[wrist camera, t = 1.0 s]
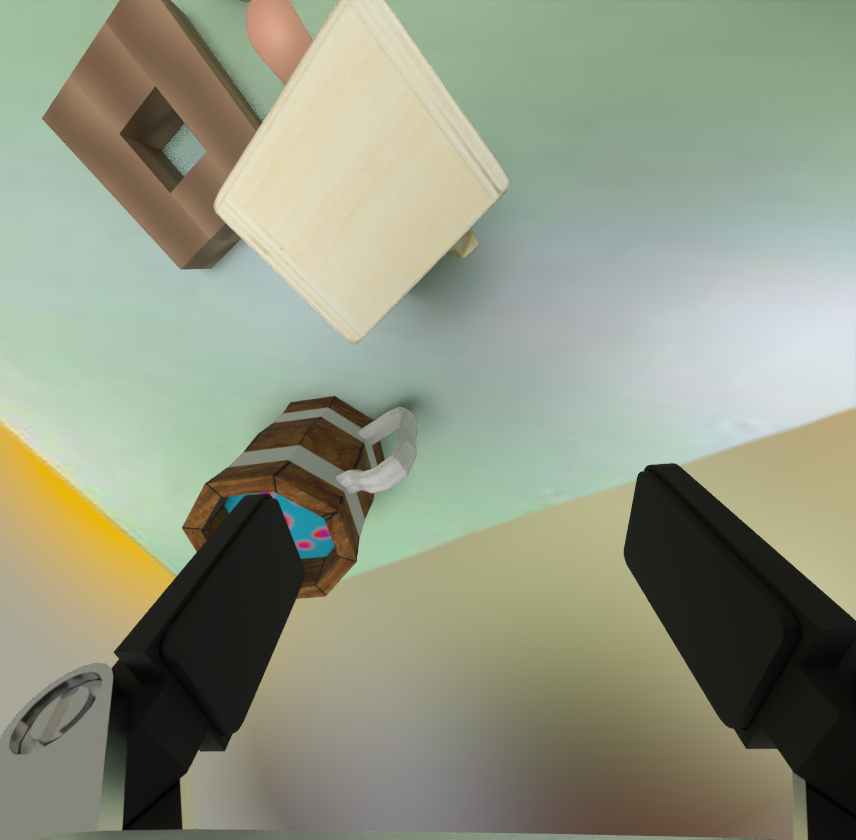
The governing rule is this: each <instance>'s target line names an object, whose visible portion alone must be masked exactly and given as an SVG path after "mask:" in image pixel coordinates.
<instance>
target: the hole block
mask: <svg viewBox="0 0 856 840" xmlns="http://www.w3.org/2000/svg"><path fill="white" fill-rule="evenodd" d="M42 119H43V120H44V121H45V122H46V123H47V125H48V126H49V127H50V128H51V129H52V130H53V131H54V132H55V133H56V134H57V135H58V136H59V138H60V139H61V140H62V141H63V142H64V143H65V144H66V145H67V146H68V147H69V148H70V150H71V151H72V152H73V153H74V154H75V155H76V156H77V157H78V158H79V159H80V160H81V161H82V163H83V164H84V165H85V166H86V167H87V168H88V169H89V170H90V171H91V172H92V173H93V175H94V176H95V177H96V178H97V179H98V180H99V181H100V182H101V183H102V184H103V185H104V186H105V188H106V189H107V190H108V191H109V192H110V193H111V194H112V195H113V196H114V197H115V198H116V200H117V201H118V202H119V203H120V204H121V205H122V206H123V207H124V208H125V209H126V210H127V211H128V213H129V214H130V215H131V216H132V217H133V218H134V219H135V220H136V221H137V222H138V223H139V225H140V226H141V227H142V228H143V229H144V230H145V231H146V232H147V233H148V234H149V235H150V236H151V238H152V239H153V240H154V241H155V242H156V243H157V244H158V245H159V246H160V247H161V248H162V250H163V251H164V252H165V253H166V254H167V255H168V256H169V257H170V258H171V259H172V260H173V261H174V263H175V264H176V265H177V266H178V267H179V268H180V269H208V268H212V267H213V266H214V265H215V264H216V263H217V262H218V261H219V260H220V259H221V258H222V257H223V256H224V255H225V254H226V253H227V252H228V251H229V250H230V249H231V248H232V247H233V246H234V245H235V244H236V243H237V242H238V241H239V240H240V239H241V237H240V236H239V235H238V234H236V233H235V232H234V231H233V230H232V229H231V228H230V227H229V226H228V225H227V224H226V223H225V222H224V221H223V219H222V218H221V217H220V216H219V215H218V214H217V213H216V212H215V210H214V202H215V199H216V197H217V195H218V193H219V190H220V189H221V187H222V185H223V184H224V182H225V181H226V179H227V177H228V176H229V174H230V173H231V171H232V170H233V168H234V166H235V165H236V163H237V162H238V160H239V159H240V157H241V155H242V154H243V152H244V151H245V149H246V147H247V146H248V144H249V143H250V141H251V140H252V138H253V136H254V135H255V133H256V132H257V130H258V128H259V127H260V125H261V124H262V122H261V121H260V119H259V118H258V116H257V115H256V114H255V112H254V111H253V109H252V108H251V107H250V105H249V104H248V102H247V101H246V100H245V98H244V97H243V95H242V94H241V93H240V91H239V90H238V88H237V87H236V85H235V84H234V83H233V81H232V80H231V78H230V77H229V76H228V74H227V73H226V71H225V70H224V69H223V67H222V66H221V64H220V63H219V62H218V60H217V59H216V57H215V56H214V55H213V53H212V52H211V50H210V49H209V48H208V46H207V45H206V43H205V42H204V41H203V39H202V38H201V36H200V35H199V34H198V32H197V31H196V29H195V28H194V27H193V25H192V24H191V22H190V21H189V20H188V18H187V17H186V15H185V14H184V13H183V12H182V11H181V10H180V9H179V8H178V7H177V6H176V5H175V4H174V3H173V2H172V1H171V0H120V1H119V2H118V4H117V5H116V7H115V8H114V10H113V11H112V13H111V15H110V16H109V18H108V19H107V21H106V22H105V24H104V25H103V27H102V28H101V30H100V31H99V33H98V34H97V36H96V37H95V39H94V40H93V42H92V43H91V45H90V46H89V48H88V49H87V51H86V52H85V54H84V55H83V57H82V58H81V60H80V61H79V63H78V65H77V66H76V68H75V69H74V71H73V72H72V74H71V75H70V77H69V78H68V80H67V81H66V83H65V84H64V86H63V87H62V89H61V90H60V92H59V93H58V95H57V96H56V98H55V99H54V101H53V102H52V104H51V105H50V107H49V108H48V110H47V112H46V113H45V115H44V116H43V118H42ZM183 123H185V124H186V125H187V127H188V128H189V129H190V130H191V132H192V133H193V134H194V136H195V137H196V138H197V139H198V141H199V142H200V143H201V144H202V146H203V147H204V148H205V150H206V151H207V152H206V153H205V154H204V155H203V156H202V157H201V159H200V160H199V161H198V162H197V163H196V164H195V166H194V167H193V168H192V169H191V170H190V171H189V172H188V174H187V175H186V176H185V177H183V176H182V175H181V174H180V172H179V171H178V170H177V169H176V168H175V166H174V165H173V164H172V163H171V162H170V160H169V159H168V158H167V157H166V156H165V154H164V153H163V152H162V151H161V150H162V149H163V148H164V146H165V145H166V144H167V143H168V142H169V140H170V139H171V138H172V137H173V135H174V134H175V133H176V132H177V130H178V129H179V128H180V127H181V126H182V124H183Z"/></svg>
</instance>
